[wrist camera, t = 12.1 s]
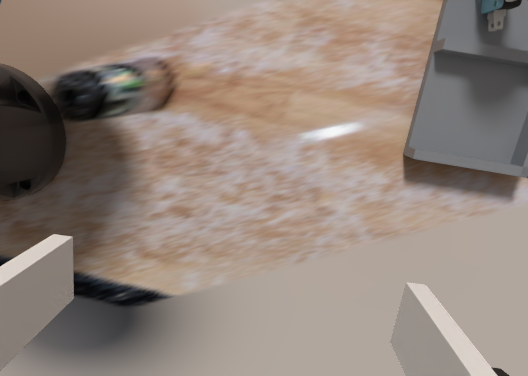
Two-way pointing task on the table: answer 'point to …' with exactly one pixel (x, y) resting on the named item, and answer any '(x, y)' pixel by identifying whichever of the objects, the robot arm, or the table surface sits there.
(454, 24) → the gray divided compartment tray
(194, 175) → the table surface
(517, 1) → the push button
